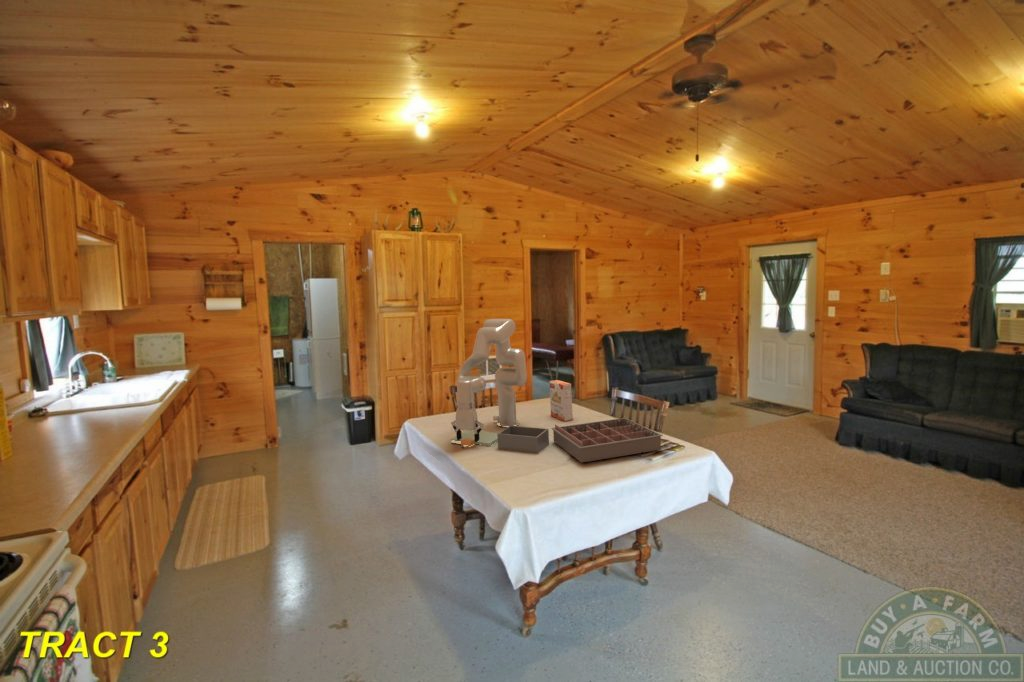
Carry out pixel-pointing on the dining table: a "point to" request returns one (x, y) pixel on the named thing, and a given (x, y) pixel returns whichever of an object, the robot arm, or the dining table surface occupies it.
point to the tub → (523, 439)
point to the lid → (484, 438)
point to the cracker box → (561, 400)
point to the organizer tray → (606, 439)
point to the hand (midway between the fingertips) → (468, 440)
